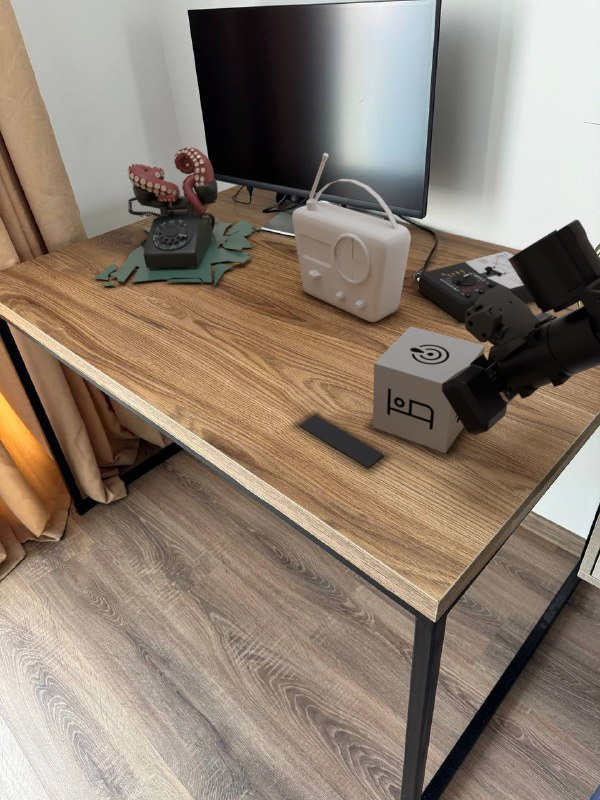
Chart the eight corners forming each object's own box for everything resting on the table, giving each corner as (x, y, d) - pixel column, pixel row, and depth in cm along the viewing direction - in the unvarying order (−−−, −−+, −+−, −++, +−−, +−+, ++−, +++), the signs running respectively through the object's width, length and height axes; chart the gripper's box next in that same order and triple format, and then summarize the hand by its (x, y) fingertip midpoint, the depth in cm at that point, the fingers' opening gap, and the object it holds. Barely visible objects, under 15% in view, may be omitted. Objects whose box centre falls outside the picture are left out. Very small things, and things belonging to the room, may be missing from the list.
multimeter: (416, 292, 106) (418, 266, 103) (503, 268, 111) (507, 243, 108) (460, 323, 96) (463, 296, 93) (553, 296, 101) (559, 269, 98)
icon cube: (372, 427, 76) (374, 363, 70) (407, 388, 83) (410, 326, 77) (445, 453, 72) (453, 386, 66) (475, 409, 78) (485, 345, 72)
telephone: (137, 224, 143) (117, 136, 131) (265, 220, 140) (256, 129, 128) (86, 289, 115) (55, 185, 103) (244, 285, 112) (231, 178, 100)
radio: (288, 292, 109) (277, 151, 94) (321, 277, 113) (315, 140, 98) (376, 333, 95) (379, 175, 80) (409, 315, 99) (418, 161, 84)
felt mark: (384, 456, 72) (384, 454, 72) (368, 468, 70) (368, 467, 70) (315, 415, 79) (314, 414, 79) (299, 426, 78) (299, 425, 77)
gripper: (569, 245, 62) (466, 306, 75) (469, 310, 52) (371, 367, 65) (625, 334, 62) (512, 379, 75) (536, 417, 52) (425, 452, 65)
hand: (458, 391), depth 70 cm, fingers closed, pressing on icon cube
